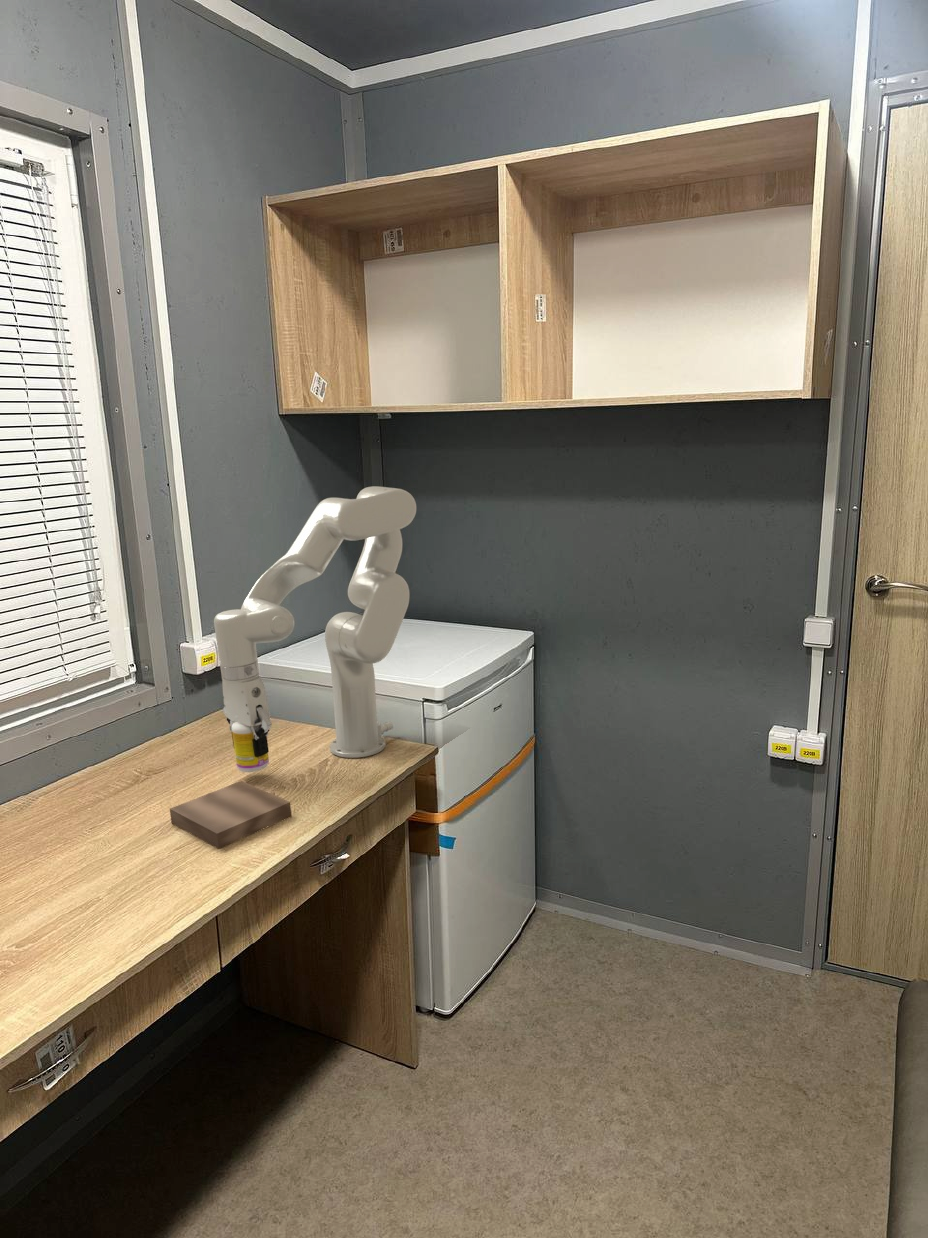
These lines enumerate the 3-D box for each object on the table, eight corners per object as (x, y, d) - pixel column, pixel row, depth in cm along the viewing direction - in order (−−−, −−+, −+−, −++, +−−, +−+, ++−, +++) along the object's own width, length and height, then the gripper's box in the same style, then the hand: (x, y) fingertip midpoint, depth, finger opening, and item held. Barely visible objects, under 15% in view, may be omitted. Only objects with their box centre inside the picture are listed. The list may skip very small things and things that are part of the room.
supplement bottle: (261, 774, 180) (253, 716, 177) (231, 773, 181) (223, 715, 178) (274, 760, 186) (267, 704, 183) (245, 759, 188) (237, 703, 184)
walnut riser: (242, 794, 177) (241, 780, 176) (291, 816, 166) (290, 802, 166) (171, 823, 165) (169, 808, 165) (218, 849, 155) (217, 833, 154)
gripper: (280, 672, 175) (291, 754, 180) (231, 658, 187) (242, 736, 191) (249, 682, 170) (260, 767, 175) (200, 668, 181) (212, 748, 186)
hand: (251, 750), depth 183 cm, fingers closed on supplement bottle, 6 cm apart
